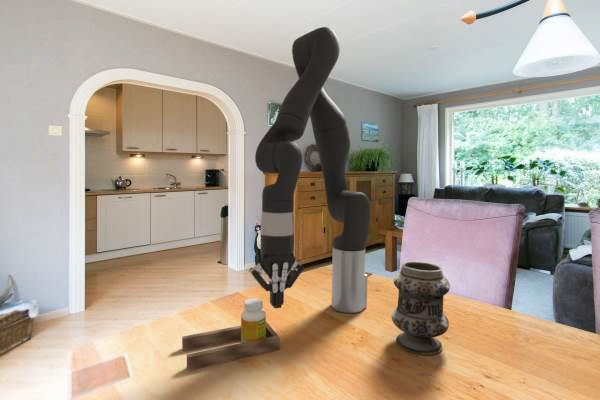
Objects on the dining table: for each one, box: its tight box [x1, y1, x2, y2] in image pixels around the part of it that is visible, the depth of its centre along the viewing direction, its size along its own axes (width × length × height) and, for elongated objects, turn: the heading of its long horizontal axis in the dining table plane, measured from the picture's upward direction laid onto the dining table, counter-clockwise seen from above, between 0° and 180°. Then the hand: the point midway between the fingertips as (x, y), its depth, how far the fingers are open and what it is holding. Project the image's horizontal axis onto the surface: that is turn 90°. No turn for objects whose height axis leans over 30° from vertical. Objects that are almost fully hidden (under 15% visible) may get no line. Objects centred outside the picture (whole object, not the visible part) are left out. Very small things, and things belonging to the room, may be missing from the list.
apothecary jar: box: [391, 260, 451, 356], centre depth 74 cm, size 12×12×18 cm
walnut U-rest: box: [181, 321, 281, 372], centre depth 71 cm, size 19×9×3 cm, turn 116°
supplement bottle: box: [240, 297, 267, 343], centre depth 73 cm, size 5×5×10 cm
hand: (276, 306), depth 75 cm, fingers closed
